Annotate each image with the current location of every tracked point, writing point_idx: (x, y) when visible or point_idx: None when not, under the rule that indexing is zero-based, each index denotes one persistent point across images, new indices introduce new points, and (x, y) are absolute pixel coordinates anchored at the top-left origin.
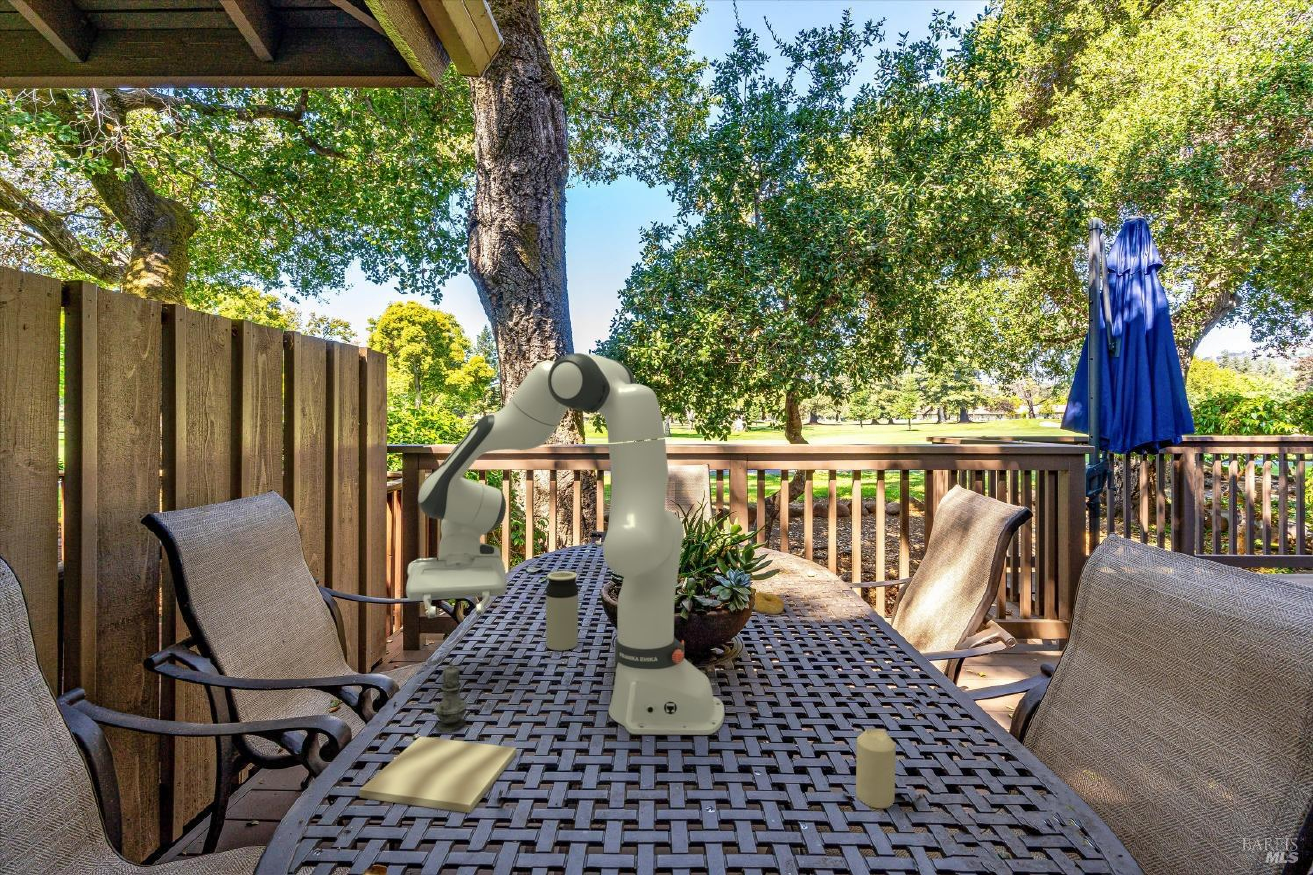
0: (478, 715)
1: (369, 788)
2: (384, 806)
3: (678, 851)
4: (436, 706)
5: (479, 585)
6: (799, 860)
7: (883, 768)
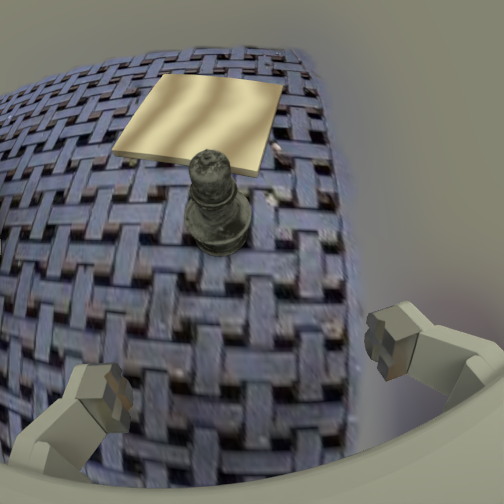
0: (176, 267)
1: (273, 86)
2: None
3: (44, 83)
4: (248, 211)
5: (32, 499)
6: (4, 96)
7: None
